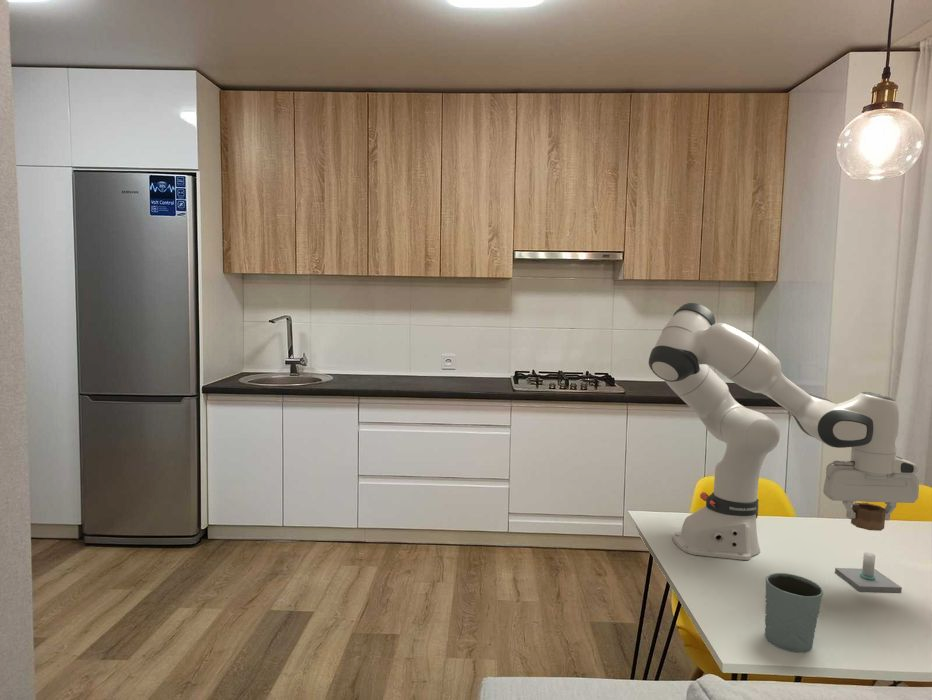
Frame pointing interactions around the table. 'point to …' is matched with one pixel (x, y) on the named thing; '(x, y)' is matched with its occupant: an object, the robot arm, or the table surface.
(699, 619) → the table surface
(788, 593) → the grey blue cup
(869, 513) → the ring
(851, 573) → the shaft stand
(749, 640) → the table surface
